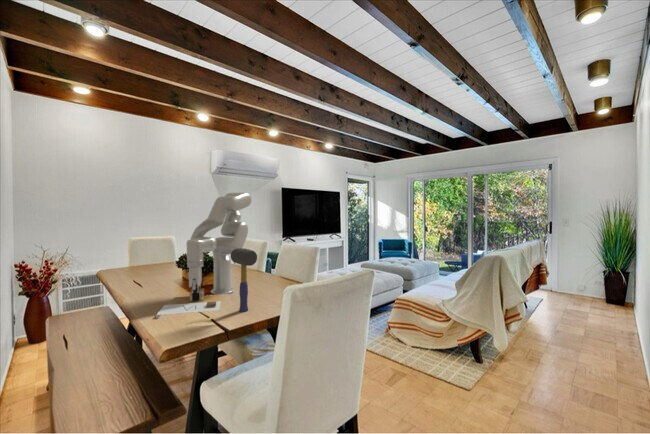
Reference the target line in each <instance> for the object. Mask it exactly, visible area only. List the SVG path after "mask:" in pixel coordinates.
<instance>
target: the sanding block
mask: <svg viewBox="0 0 650 434" xmlns="http://www.w3.org/2000/svg"><path fill="white" fill-rule="evenodd" d="M198 292H199V300H197V301H196V302H199V301H203V302H204V299H205V288H200V289H198ZM189 302H194V301H193V300H192V289H191V290H190V292H189Z"/></svg>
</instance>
